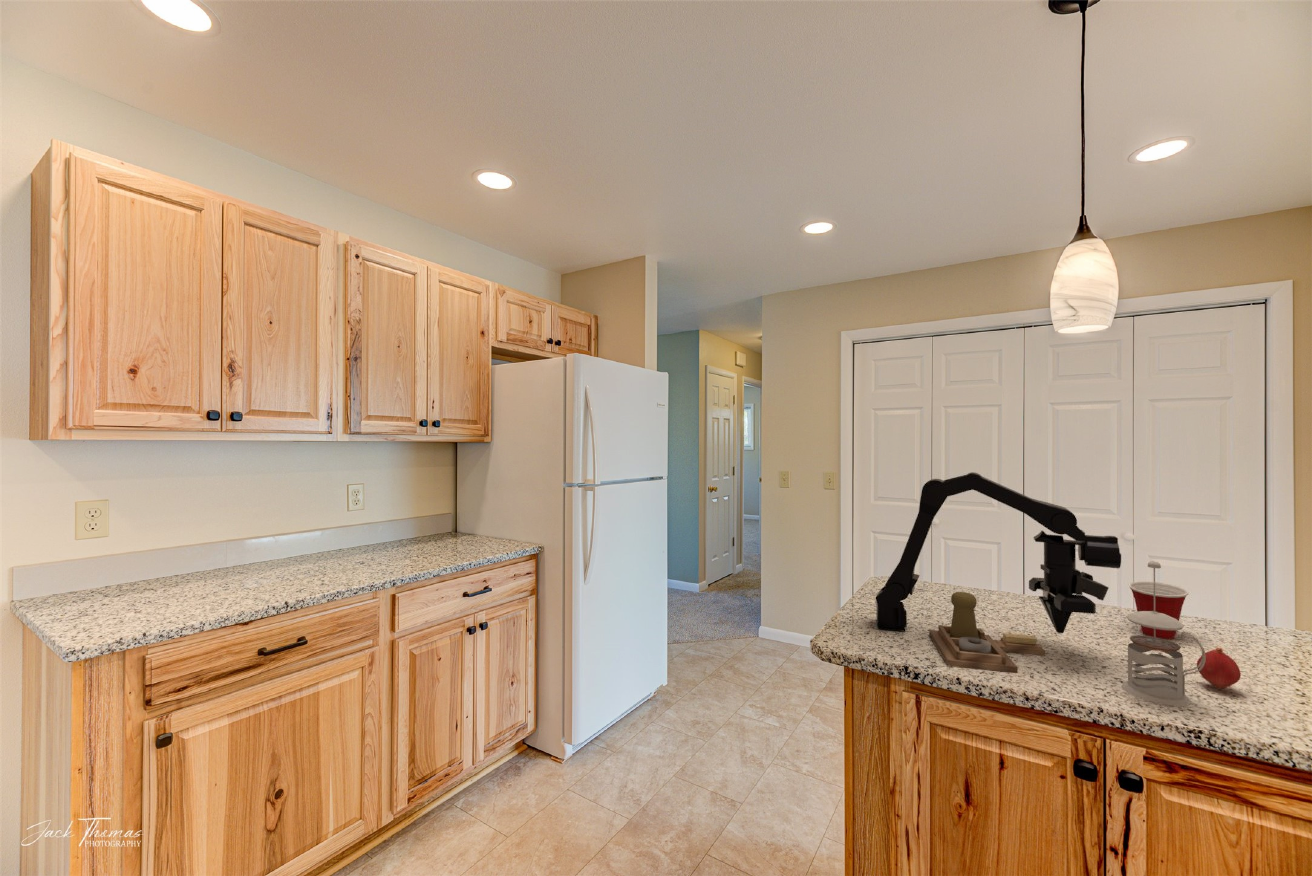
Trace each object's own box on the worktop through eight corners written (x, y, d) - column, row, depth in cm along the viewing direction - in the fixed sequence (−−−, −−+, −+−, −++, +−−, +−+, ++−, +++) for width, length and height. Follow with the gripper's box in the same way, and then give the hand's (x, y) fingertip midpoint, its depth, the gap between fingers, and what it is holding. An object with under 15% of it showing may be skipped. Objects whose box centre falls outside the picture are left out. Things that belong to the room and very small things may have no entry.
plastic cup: (1125, 634, 132) (1124, 586, 132) (1132, 624, 140) (1131, 578, 140) (1186, 647, 124) (1186, 595, 124) (1191, 636, 131) (1190, 587, 132)
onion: (1188, 682, 107) (1188, 641, 107) (1215, 681, 107) (1214, 640, 107) (1221, 696, 101) (1221, 653, 101) (1249, 694, 101) (1249, 652, 101)
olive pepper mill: (984, 645, 123) (983, 596, 123) (956, 644, 124) (955, 596, 124) (971, 635, 129) (971, 589, 129) (944, 634, 130) (944, 589, 130)
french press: (1120, 677, 109) (1119, 553, 109) (1201, 694, 102) (1200, 561, 102) (1121, 694, 101) (1120, 562, 102) (1209, 714, 94) (1208, 571, 94)
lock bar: (1006, 645, 123) (1006, 636, 123) (1002, 641, 125) (1002, 633, 125) (1036, 647, 121) (1036, 639, 121) (1032, 644, 123) (1032, 635, 123)
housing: (947, 665, 115) (947, 644, 115) (929, 634, 133) (929, 616, 133) (1068, 677, 109) (1068, 656, 109) (1032, 643, 127) (1032, 625, 127)
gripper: (1125, 575, 110) (1126, 652, 110) (1082, 556, 128) (1082, 622, 128) (1061, 571, 113) (1062, 646, 113) (1027, 553, 131) (1028, 618, 131)
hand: (1059, 632), depth 121 cm, fingers closed
